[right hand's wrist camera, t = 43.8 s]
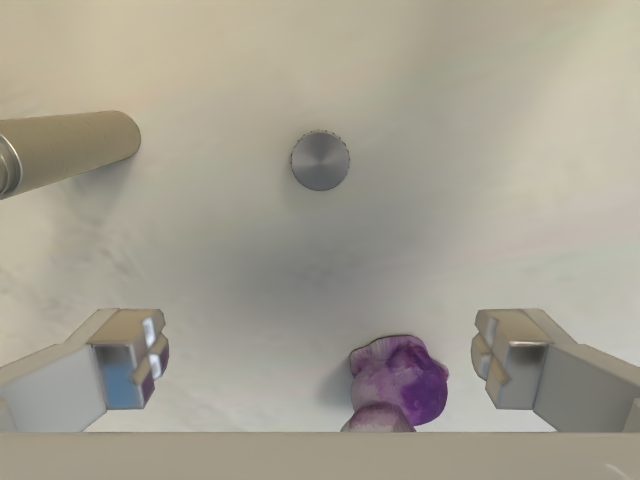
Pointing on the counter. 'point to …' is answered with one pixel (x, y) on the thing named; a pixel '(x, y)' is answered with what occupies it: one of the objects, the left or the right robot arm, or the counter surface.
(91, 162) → the jar
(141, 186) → the counter surface
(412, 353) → the figurine
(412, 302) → the counter surface
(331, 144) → the lid
